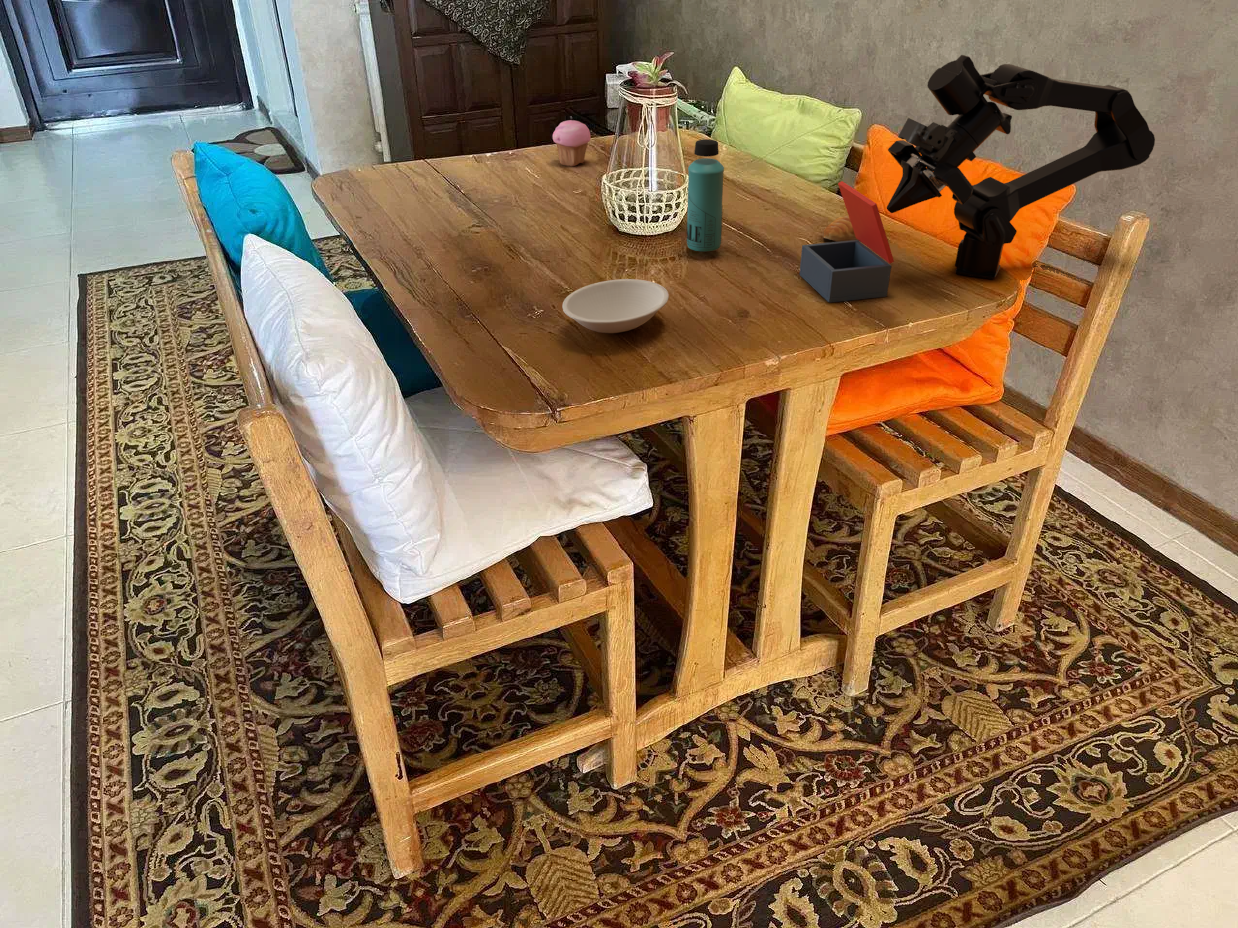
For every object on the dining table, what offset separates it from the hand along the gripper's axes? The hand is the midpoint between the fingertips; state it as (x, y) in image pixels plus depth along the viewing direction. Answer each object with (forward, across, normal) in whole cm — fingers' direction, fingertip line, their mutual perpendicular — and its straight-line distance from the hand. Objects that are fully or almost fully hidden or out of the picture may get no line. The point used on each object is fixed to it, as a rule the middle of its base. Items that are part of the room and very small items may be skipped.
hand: (888, 211), depth 148 cm
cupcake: (+35, -87, -17) cm, 95 cm away
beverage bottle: (+26, -20, -9) cm, 34 cm away
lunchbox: (+13, 0, +4) cm, 14 cm away
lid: (+4, 0, -2) cm, 5 cm away
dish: (+42, +8, -24) cm, 49 cm away
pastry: (+6, -22, +12) cm, 26 cm away
